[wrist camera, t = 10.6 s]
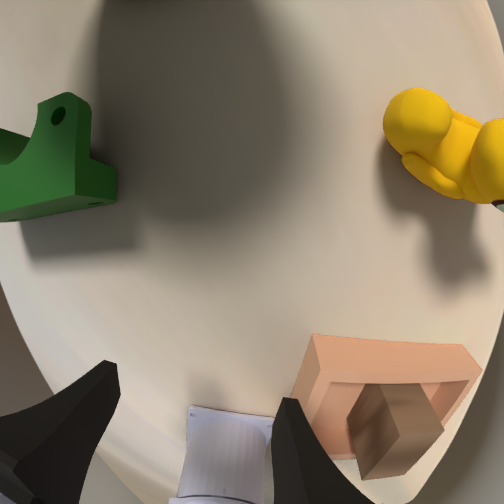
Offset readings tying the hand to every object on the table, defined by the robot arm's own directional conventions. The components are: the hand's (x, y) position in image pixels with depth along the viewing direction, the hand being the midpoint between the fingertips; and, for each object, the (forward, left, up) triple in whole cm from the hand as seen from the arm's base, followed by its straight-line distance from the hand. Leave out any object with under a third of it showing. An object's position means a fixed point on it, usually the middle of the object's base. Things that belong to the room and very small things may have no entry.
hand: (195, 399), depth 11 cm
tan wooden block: (-7, -14, -8) cm, 18 cm away
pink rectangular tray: (-7, -14, -9) cm, 19 cm away
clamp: (+8, +13, -10) cm, 18 cm away
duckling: (+13, -12, -10) cm, 20 cm away
